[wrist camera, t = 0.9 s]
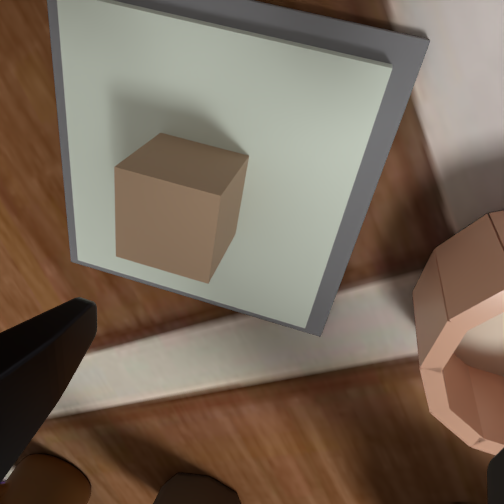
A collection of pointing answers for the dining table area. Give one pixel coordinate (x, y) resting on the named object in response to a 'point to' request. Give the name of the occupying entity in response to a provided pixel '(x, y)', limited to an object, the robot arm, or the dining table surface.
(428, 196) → the dining table surface
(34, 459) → the mug
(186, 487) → the beer bottle
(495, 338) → the bowl
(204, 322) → the dining table surface
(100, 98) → the cover sheet
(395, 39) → the mat
